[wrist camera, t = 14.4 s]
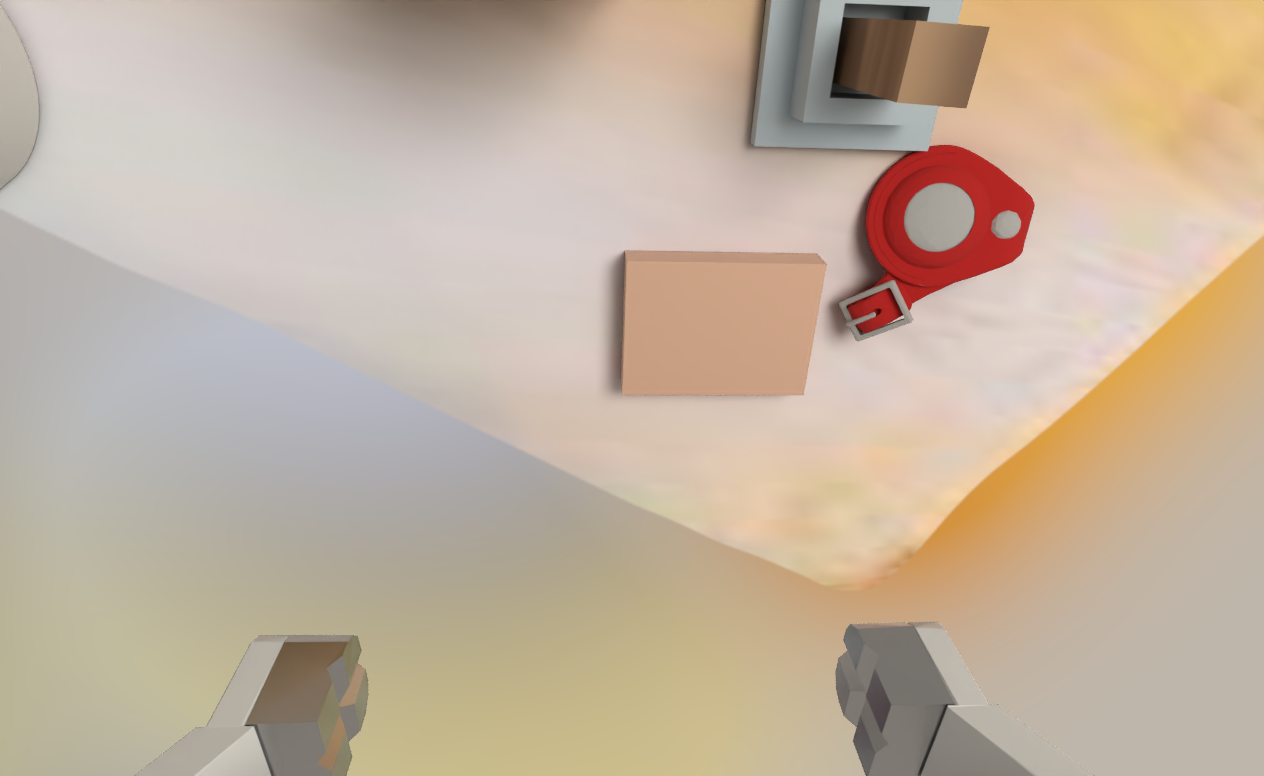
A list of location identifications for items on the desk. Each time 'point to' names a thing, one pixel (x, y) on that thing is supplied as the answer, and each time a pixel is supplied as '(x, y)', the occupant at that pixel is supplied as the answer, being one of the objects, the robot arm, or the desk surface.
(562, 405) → the desk surface
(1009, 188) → the tracker holder
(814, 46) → the grey square socket base
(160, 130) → the desk surface
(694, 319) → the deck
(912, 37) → the post
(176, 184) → the desk surface
